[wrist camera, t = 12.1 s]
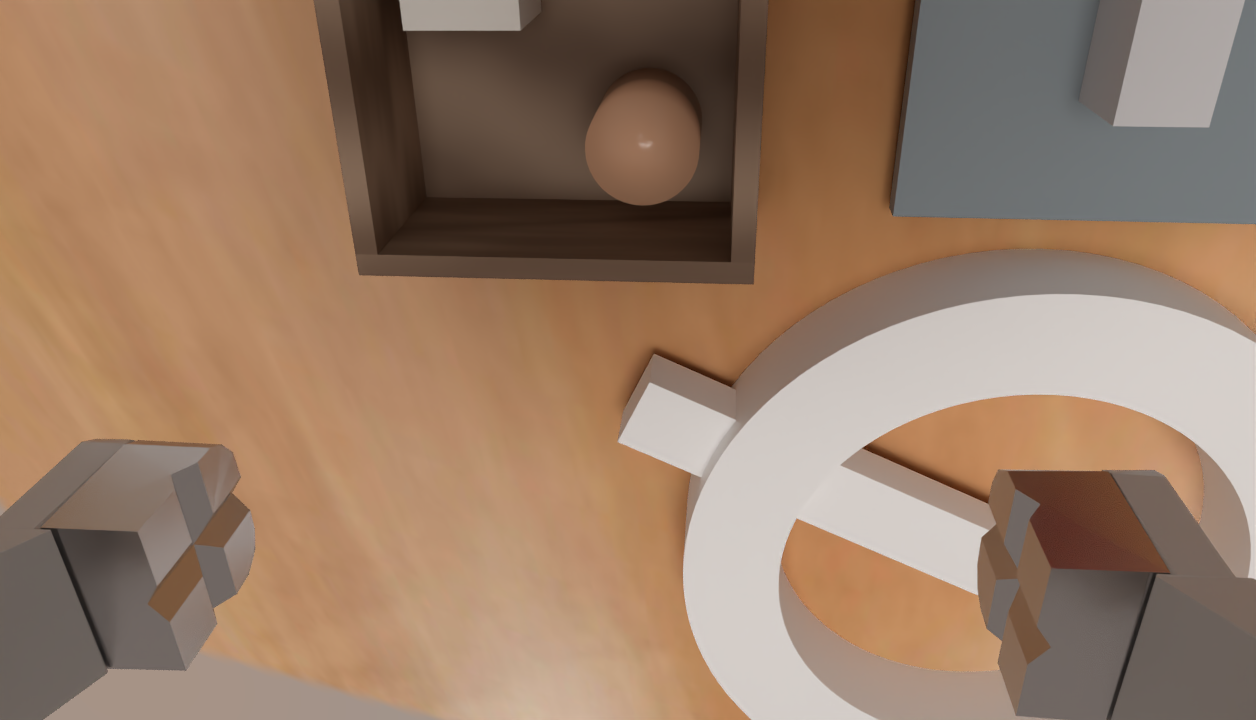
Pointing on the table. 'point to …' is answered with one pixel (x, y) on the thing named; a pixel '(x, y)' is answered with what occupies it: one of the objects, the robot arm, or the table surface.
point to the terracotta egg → (645, 137)
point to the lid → (1079, 111)
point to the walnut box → (541, 141)
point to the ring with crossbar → (901, 498)
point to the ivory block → (468, 14)
